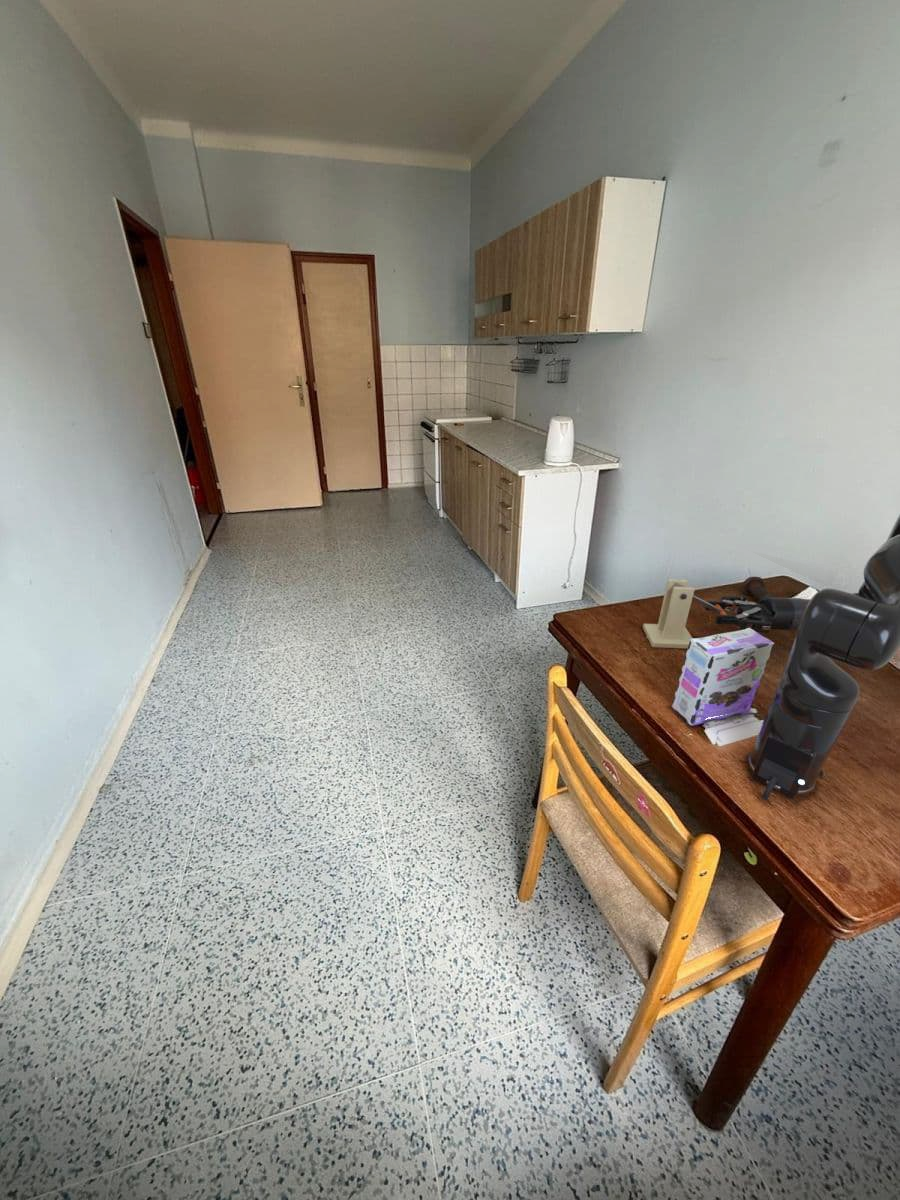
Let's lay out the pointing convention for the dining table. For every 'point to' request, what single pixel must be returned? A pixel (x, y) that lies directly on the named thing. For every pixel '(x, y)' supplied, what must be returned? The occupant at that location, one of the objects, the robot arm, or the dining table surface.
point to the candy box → (721, 675)
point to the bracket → (672, 618)
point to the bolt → (756, 588)
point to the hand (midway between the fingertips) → (711, 612)
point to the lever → (703, 602)
